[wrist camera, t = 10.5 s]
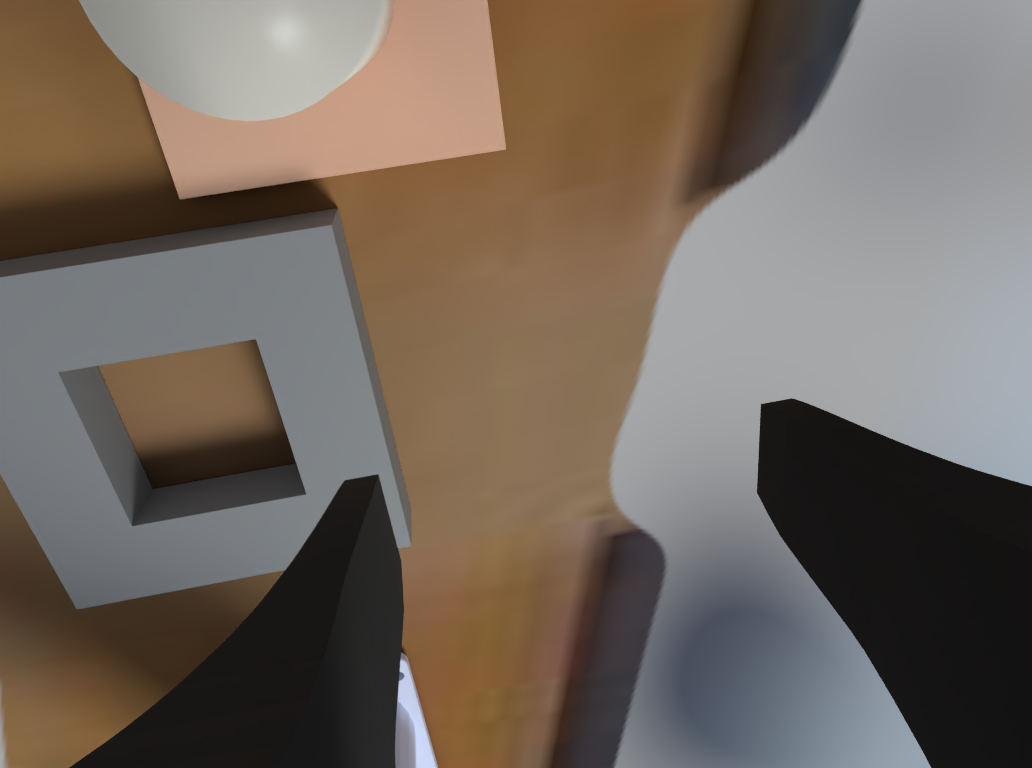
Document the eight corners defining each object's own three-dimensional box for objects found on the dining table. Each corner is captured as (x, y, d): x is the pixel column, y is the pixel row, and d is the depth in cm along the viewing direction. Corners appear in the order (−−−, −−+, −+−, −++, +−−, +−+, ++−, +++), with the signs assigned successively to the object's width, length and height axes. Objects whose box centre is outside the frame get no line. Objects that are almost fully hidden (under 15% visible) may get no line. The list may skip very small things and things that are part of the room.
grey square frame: (411, 509, 25) (411, 546, 24) (100, 568, 25) (77, 609, 23) (338, 208, 20) (331, 224, 18) (-57, 269, 20) (-103, 293, 18)
